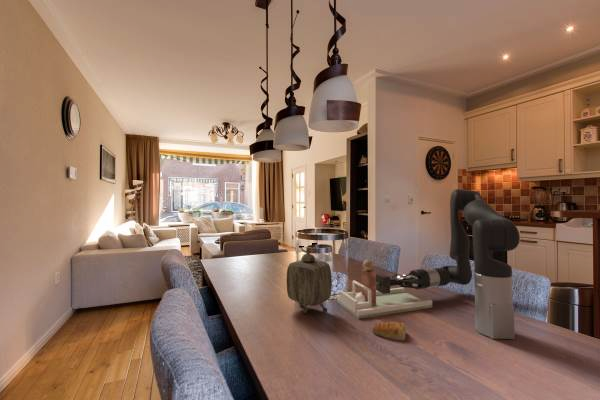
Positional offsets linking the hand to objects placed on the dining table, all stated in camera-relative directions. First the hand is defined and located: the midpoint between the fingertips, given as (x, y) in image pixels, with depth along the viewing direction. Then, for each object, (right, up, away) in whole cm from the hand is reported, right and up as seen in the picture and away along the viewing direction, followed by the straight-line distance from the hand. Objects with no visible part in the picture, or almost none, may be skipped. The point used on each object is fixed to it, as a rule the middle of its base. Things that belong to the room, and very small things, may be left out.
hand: (386, 282), depth 109 cm
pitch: (-1, -8, 0) cm, 8 cm away
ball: (-10, -5, -3) cm, 12 cm away
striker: (-4, -7, -1) cm, 8 cm away
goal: (-13, -7, -4) cm, 15 cm away
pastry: (-6, -9, -24) cm, 27 cm away
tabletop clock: (-30, -9, -6) cm, 31 cm away
